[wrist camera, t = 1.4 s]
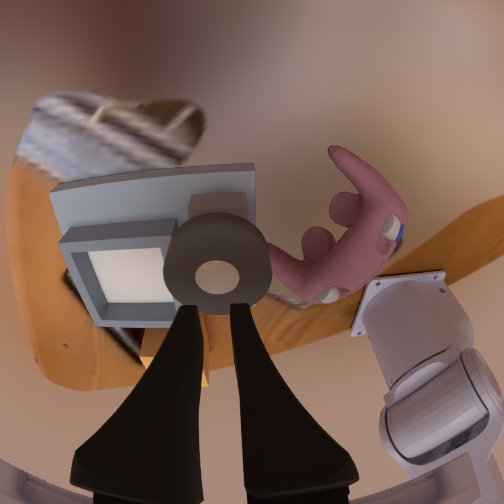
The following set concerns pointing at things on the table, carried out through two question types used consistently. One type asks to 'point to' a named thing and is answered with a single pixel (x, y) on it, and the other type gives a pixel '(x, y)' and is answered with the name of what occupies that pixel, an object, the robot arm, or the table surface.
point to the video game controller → (346, 237)
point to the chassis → (139, 234)
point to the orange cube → (155, 339)
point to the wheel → (217, 263)
